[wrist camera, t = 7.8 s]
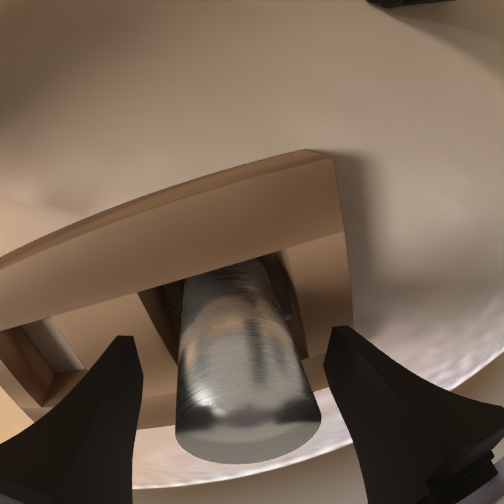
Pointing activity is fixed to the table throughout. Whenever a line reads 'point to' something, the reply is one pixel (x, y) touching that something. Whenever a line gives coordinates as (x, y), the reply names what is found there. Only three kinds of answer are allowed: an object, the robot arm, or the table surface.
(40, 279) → the socket board
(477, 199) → the table surface
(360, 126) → the table surface
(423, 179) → the table surface
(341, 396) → the robot arm
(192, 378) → the steel peg
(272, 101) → the table surface
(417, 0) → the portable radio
